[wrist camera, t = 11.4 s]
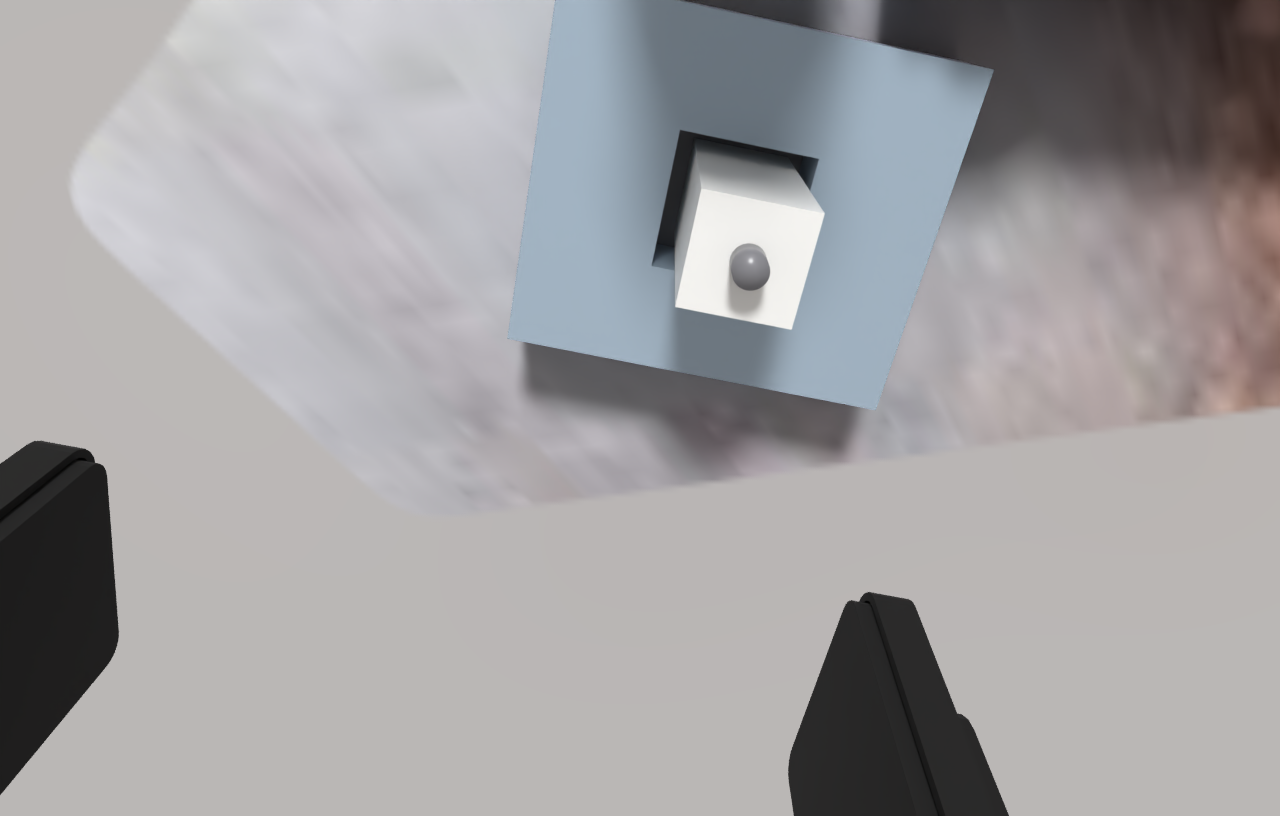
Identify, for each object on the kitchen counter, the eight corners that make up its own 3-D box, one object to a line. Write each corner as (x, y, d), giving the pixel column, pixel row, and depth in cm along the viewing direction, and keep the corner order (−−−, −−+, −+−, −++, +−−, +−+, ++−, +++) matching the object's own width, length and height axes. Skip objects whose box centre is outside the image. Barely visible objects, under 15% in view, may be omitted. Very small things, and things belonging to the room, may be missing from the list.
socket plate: (958, 59, 36) (994, 69, 32) (856, 369, 42) (875, 410, 38) (571, -25, 35) (558, -26, 31) (523, 303, 41) (507, 338, 37)
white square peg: (787, 157, 37) (831, 222, 27) (763, 249, 39) (796, 342, 29) (694, 138, 37) (702, 196, 27) (674, 231, 39) (675, 319, 29)
